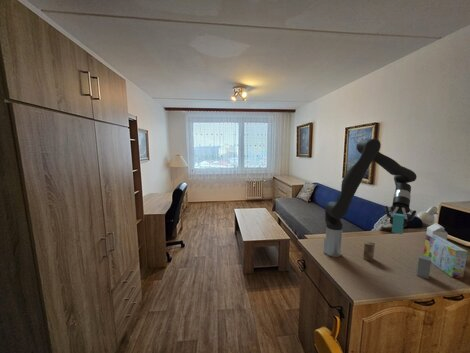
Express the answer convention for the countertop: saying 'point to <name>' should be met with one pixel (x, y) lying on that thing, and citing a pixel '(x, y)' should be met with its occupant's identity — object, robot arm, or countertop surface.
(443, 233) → the milk carton
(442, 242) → the snack box
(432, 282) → the countertop surface
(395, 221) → the teal block
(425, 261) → the charcoal block
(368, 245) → the walnut block
